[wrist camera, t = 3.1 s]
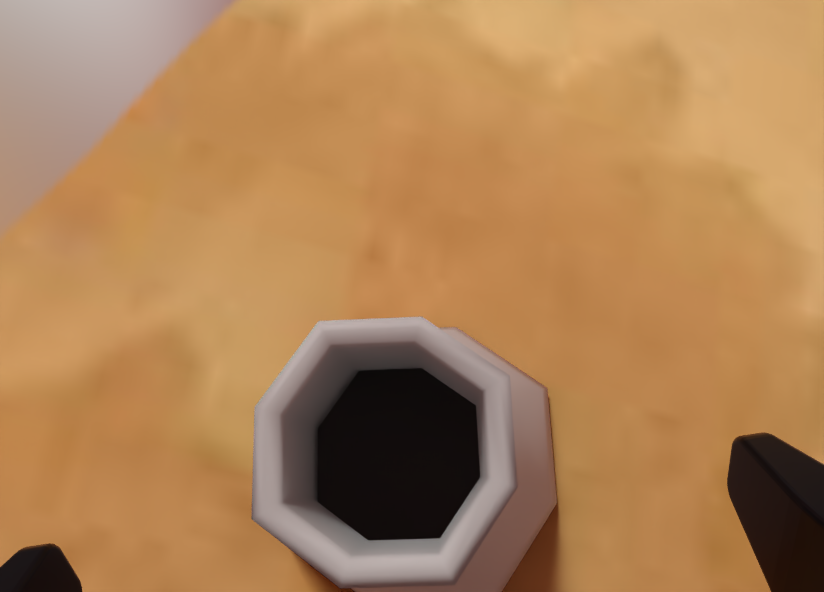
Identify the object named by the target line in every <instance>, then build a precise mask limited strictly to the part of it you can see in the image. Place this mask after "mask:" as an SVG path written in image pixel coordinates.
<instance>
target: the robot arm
mask: <svg viewBox="0 0 824 592" xmlns="http://www.w3.org/2000/svg"><path fill="white" fill-rule="evenodd" d="M727 486H728V492H729V495H730V498H731V501H732V503H733V506H734V508H735V510H736V512H737V515H738V517H739V519H740V522H741V524H742V526H743V528H744V531H745V533H746V535H747V538H748V540H749V542H750V544H751V547H752V549H753V551H754V553H755V556H756V558H757V560H758V563H759V565H760V567H761V569H762V572H763V574H764V576H765V579H766V581H767V583H768V585H769V588H770V590H771V592H824V464H822V463H820V462H819V461H817V460H815V459H813V458H812V457H810V456H808V455H806V454H805V453H803V452H801V451H800V450H798V449H796V448H794V447H793V446H791V445H789V444H788V443H786V442H784V441H782V440H781V439H779V438H777V437H775V436H774V435H772V434H769V433H756V434H750V435H743V436H739V437H736V438H735V440H734V441H733V444H732V449H731V456H730V464H729V471H728V478H727ZM0 592H82V586H81V583H80V580H79V578H78V577H77V575H76V573H75V572H74V570H73V568H72V567H71V565H70V564H69V562H68V560H67V559H66V557H65V555H64V554H63V552H62V551H61V549H60V548H59V547H58V546H56V545H55V544H50V543H49V544H43V545H36V546H30V547H25V548H23V549H21V550H19V551H18V552H17V553H15V554H14V555H13V556H12V557H11V558H10V559H9V560H8V561H7V562H6V563H4V564H3V565H2V566H1V567H0Z"/></svg>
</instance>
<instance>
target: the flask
mask: <svg viewBox="0 0 824 592" xmlns="http://www.w3.org/2000/svg"><path fill="white" fill-rule="evenodd" d="M556 504H557V496H556V485H555V473H554V461H553V449H552V437H551V425H550V413H549V401H548V390H547V387H545V386H544V385H542V384H541V383H539V382H538V381H536V380H535V379H533V378H532V377H530V376H529V375H527V374H526V373H524V372H523V371H521V370H520V369H518V368H517V367H515V366H514V365H512V364H511V363H509V362H508V361H506V360H505V359H503V358H502V357H500V356H499V355H497V354H496V353H494V352H493V351H491V350H490V349H488V348H487V347H485V346H484V345H482V344H481V343H479V342H478V341H476V340H475V339H473V338H472V337H470V336H469V335H467V334H466V333H464V332H463V331H461V330H460V329H458V328H457V327H444V328H438V327H436V326H435V325H434V324H432V323H431V322H429V321H428V320H426V319H425V318H423V317H403V318H380V319H356V320H333V321H318V322H317V324H316V325H315V326H314V328H313V329H312V330H311V332H310V333H309V335H308V336H307V337H306V339H305V340H304V341H303V343H302V344H301V345H300V347H299V348H298V349H297V351H296V352H295V353H294V355H293V356H292V357H291V359H290V360H289V361H288V363H287V364H286V366H285V367H284V368H283V370H282V371H281V372H280V374H279V375H278V376H277V378H276V379H275V380H274V382H273V383H272V384H271V386H270V387H269V388H268V390H267V391H266V392H265V394H264V395H263V397H262V398H261V399H260V401H259V402H258V403H257V405H256V406H255V415H254V451H253V488H252V520H254V521H255V522H256V523H257V524H259V525H260V526H261V527H263V528H264V529H265V530H266V531H268V532H269V533H270V534H271V535H273V536H274V537H275V538H277V539H278V540H279V541H280V542H282V543H283V544H284V545H285V546H287V547H288V548H289V549H291V550H292V551H293V552H294V553H296V554H297V555H298V556H300V557H301V558H302V559H303V560H305V561H306V562H307V563H308V564H310V565H311V566H312V567H314V568H315V569H316V570H317V571H319V572H320V573H321V574H323V575H324V576H325V577H326V578H328V579H329V580H330V581H331V582H333V583H334V584H335V585H337V586H338V587H339V588H351V589H352V590H353V591H355V592H502V591H503V589H504V587H505V586H506V584H507V583H508V581H509V579H510V578H511V576H512V575H513V573H514V571H515V570H516V568H517V566H518V565H519V563H520V562H521V560H522V558H523V557H524V555H525V554H526V552H527V550H528V549H529V547H530V546H531V544H532V542H533V541H534V539H535V538H536V536H537V534H538V533H539V531H540V530H541V528H542V526H543V525H544V523H545V522H546V520H547V518H548V517H549V515H550V514H551V512H552V510H553V509H554V507H555V506H556Z"/></svg>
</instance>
